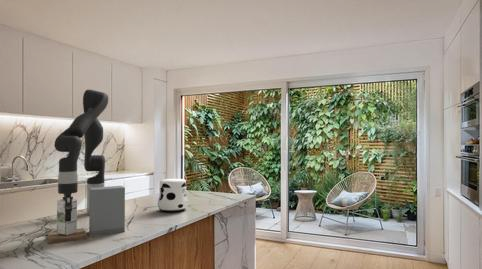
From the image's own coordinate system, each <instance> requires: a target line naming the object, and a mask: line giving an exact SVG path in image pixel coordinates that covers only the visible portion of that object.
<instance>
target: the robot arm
mask: <svg viewBox="0 0 482 269" xmlns="http://www.w3.org/2000/svg"><path fill="white" fill-rule="evenodd" d="M108 104H109V94H108V93H105V92H102V91H99V90H95V89H86V90H85V91H84V93H83V96H82V106H83V113H81V114H78V116H76V117H75V118H74V119H73V121H72V122H71V124H70V125H69V127H67V129H65V130H63V131H62V132H61V133H60V134H59V135H57V137H56V138H55V141H54V149H55V150H56V151H57V152H59V153H68V155H67V156H66V157H62V158H60V159H59V160H58V161H59V162H58V176H57V177H58V178H57V193H58V194H60V195H63V196H62V199H63V202H64V201H65V203H64V206H63V207H64V208H65V222H69V221H71V212H72V207H73V199H74V196H72V194H76V193H77V192H78V189H79V188H78V186H79V185H78V184H79V183H78V182H79V181H78V179H79V178H78V177H79V176H78V160H79V157H80V152H81V150H82V147H83V146H82V144H83V142H82V140H81V138H83V137H84V160H83V166H84V170H85V171H86V172H98V173H97V174H95V175H93V176H91V177H88V178H87V179H86V215H89V201H90V188H94V187H105V172H106V170H105V169H106V157H105V155H102V154H97V155H96V154H94V155H92V154H93V153H94V151H95V150H96V149H97V147H99V146H100V145H101V143H102V142H103V141H104V127H103V125H102V123H101V122H100V120H99V119H98V117H99V116H100V115H101V114H103V112H104V110H106V108H107V106H108ZM66 207H68V208H70V209H66Z"/></svg>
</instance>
